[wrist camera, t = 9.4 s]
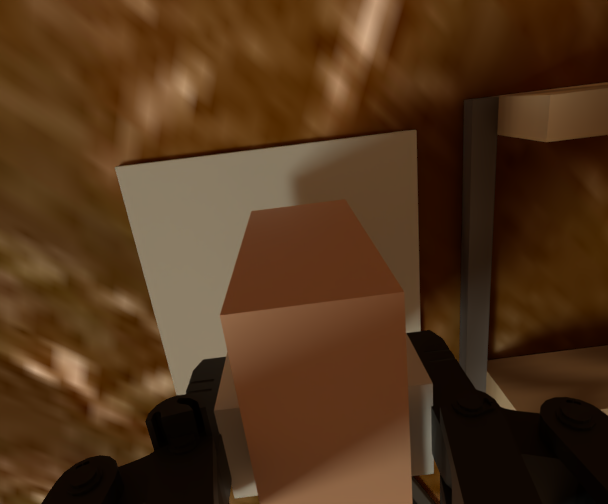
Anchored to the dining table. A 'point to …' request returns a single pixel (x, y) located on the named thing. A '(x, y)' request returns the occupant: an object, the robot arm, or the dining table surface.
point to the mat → (235, 214)
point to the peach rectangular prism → (319, 359)
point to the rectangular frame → (479, 237)
